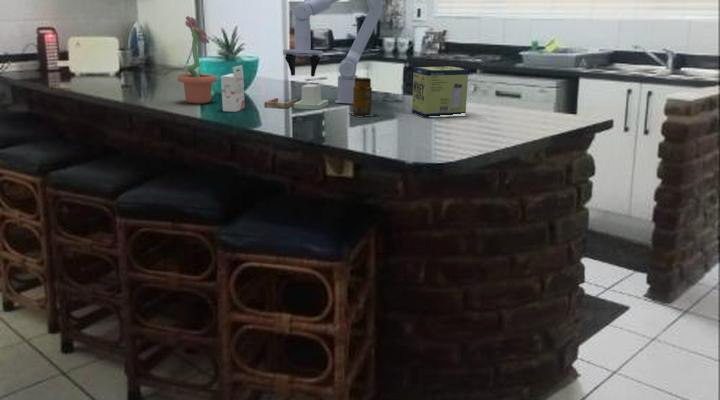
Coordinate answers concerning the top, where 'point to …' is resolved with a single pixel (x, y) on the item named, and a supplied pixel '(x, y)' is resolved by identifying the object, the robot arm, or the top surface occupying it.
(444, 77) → the protein box
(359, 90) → the condiment
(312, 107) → the tray
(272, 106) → the caddy bay
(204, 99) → the decorative flower
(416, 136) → the top surface
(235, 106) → the ink cartridge box
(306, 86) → the light grey square block
